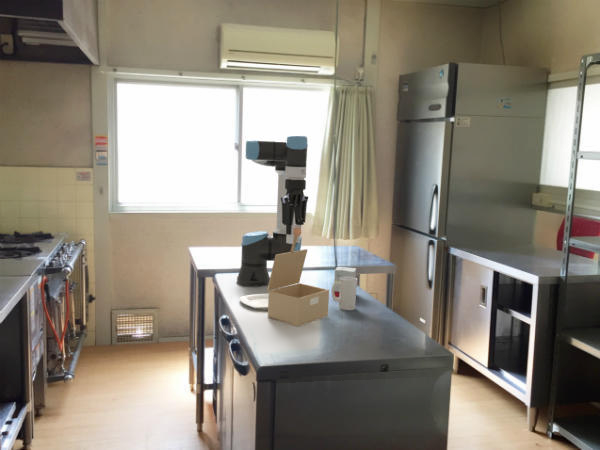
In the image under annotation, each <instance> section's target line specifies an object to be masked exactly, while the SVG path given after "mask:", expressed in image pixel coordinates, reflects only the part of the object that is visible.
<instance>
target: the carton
mask: <svg viewBox="0 0 600 450" xmlns="http://www.w3.org/2000/svg"><path fill="white" fill-rule="evenodd" d="M268 294H269V298H268V309H267V319H271V320H274V321H277V322H281V323H284V324H287V325H291V326H295V327H300V326H304V325H306V324H308V323H311V322H314V321H318V320H320V319H321V320H322V319H323V318H326V317H328V316H329V304H330V303H329V299H330V290H329V289H326V288H321V287H318V286H314V285H309V284H304V283H301V282H299V283H297V284H293V285H289V286H285V287H281V288H277V289H273V290H269V291H268Z"/></svg>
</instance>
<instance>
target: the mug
mask: <svg viewBox="0 0 600 450" xmlns="http://www.w3.org/2000/svg"><path fill="white" fill-rule="evenodd" d="M337 285H339V286H340V294H339V297H335V294H334V289H335V287H336V286H337ZM357 287H358V278H357V277H356V278H354V277H341V278H340V282H337V281H335V282H334V281H333V285H332V286H331V292H330V293H331V296H332V299H333V301H334V302H335V303H336V302H338V308H339V309H340V310H342V311H353V310H355V309H356V301H357V300H356V299H357V297H356V296H357Z"/></svg>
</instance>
